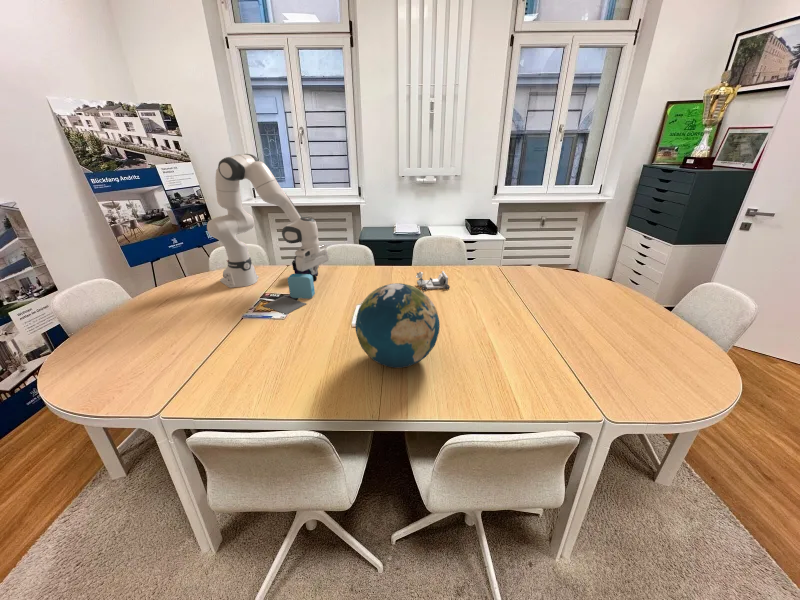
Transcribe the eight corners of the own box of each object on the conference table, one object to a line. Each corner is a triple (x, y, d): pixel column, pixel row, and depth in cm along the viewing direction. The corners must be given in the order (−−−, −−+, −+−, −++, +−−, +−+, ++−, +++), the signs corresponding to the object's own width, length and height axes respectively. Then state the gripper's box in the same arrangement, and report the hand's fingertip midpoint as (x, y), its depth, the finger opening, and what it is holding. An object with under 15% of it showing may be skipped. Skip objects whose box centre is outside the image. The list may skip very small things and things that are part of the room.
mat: (263, 306, 173) (262, 305, 173) (283, 296, 183) (283, 296, 183) (286, 314, 165) (286, 313, 165) (306, 304, 174) (306, 303, 174)
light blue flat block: (315, 295, 184) (312, 274, 179) (312, 298, 180) (309, 277, 175) (293, 294, 186) (290, 273, 180) (290, 298, 181) (286, 276, 176)
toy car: (417, 275, 183) (413, 267, 193) (417, 291, 187) (413, 283, 198) (450, 273, 185) (445, 265, 195) (449, 289, 189) (444, 281, 200)
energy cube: (298, 274, 212) (295, 255, 206) (318, 273, 213) (315, 254, 208) (295, 282, 201) (291, 262, 196) (316, 281, 202) (313, 261, 197)
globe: (363, 338, 145) (359, 271, 132) (435, 338, 144) (438, 271, 131) (352, 385, 118) (345, 306, 105) (440, 386, 117) (444, 306, 104)
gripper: (321, 243, 190) (324, 267, 195) (292, 253, 174) (296, 278, 180) (329, 244, 186) (332, 268, 192) (301, 255, 171) (304, 281, 177)
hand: (314, 273), depth 186 cm, fingers closed
